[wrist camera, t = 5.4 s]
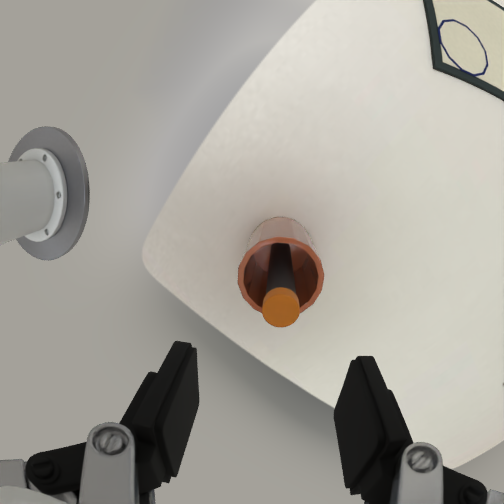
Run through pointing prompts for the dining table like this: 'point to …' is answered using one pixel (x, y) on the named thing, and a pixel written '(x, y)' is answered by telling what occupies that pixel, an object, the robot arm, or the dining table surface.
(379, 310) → the dining table surface
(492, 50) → the drawing mat
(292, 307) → the marker
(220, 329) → the dining table surface
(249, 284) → the pen cup
